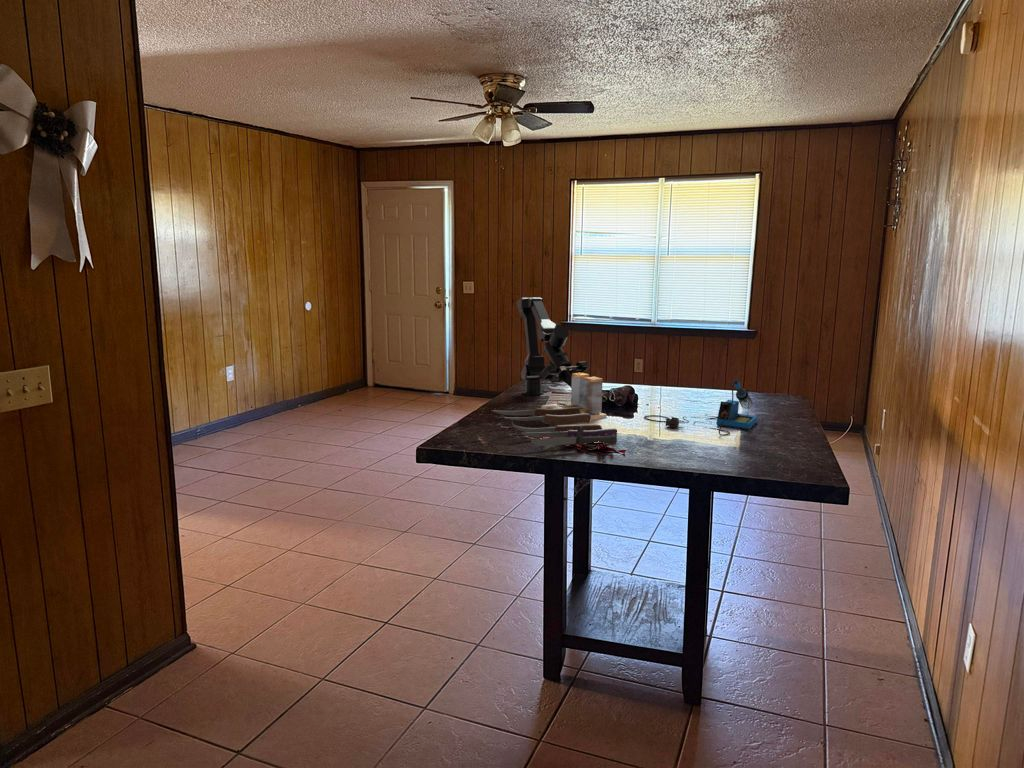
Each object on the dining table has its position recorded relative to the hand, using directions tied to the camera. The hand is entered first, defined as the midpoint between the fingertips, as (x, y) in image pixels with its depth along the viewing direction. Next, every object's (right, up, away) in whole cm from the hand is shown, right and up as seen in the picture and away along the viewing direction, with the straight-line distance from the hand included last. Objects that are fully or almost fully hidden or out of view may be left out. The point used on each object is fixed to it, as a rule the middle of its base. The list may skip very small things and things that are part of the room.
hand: (575, 389), depth 251 cm
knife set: (-9, -15, -31) cm, 36 cm away
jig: (-1, -8, -1) cm, 9 cm away
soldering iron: (+41, -12, -11) cm, 44 cm away
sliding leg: (-1, -7, -2) cm, 7 cm away
